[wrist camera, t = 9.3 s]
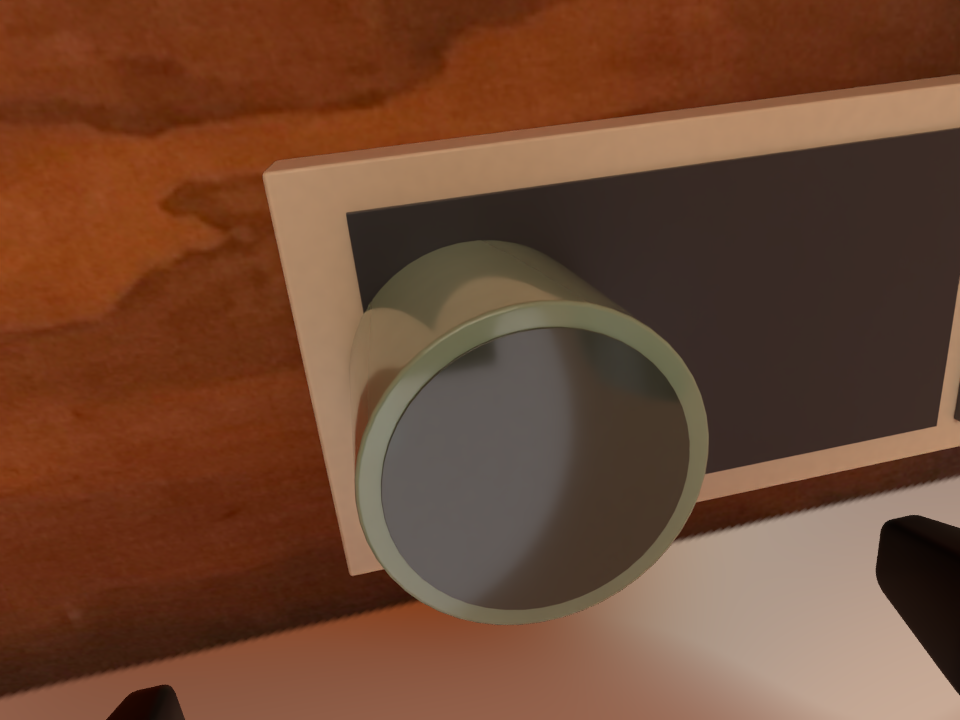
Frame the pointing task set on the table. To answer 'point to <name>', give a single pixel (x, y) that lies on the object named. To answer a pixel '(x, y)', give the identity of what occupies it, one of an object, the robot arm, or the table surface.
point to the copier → (681, 263)
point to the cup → (517, 436)
